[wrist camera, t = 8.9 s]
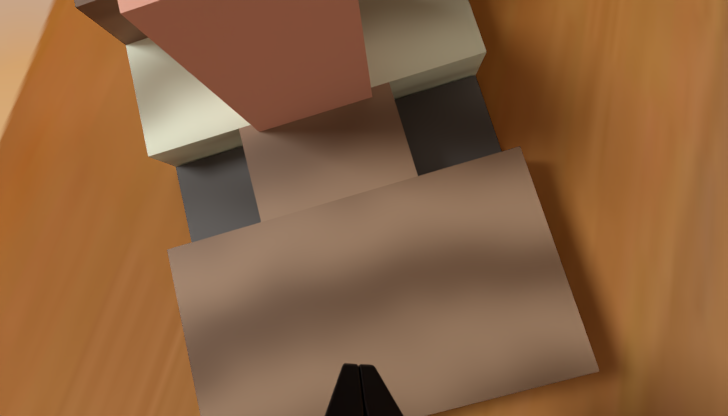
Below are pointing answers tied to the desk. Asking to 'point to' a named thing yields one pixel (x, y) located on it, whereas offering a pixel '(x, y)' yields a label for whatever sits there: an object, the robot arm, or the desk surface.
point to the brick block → (264, 52)
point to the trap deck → (359, 231)
